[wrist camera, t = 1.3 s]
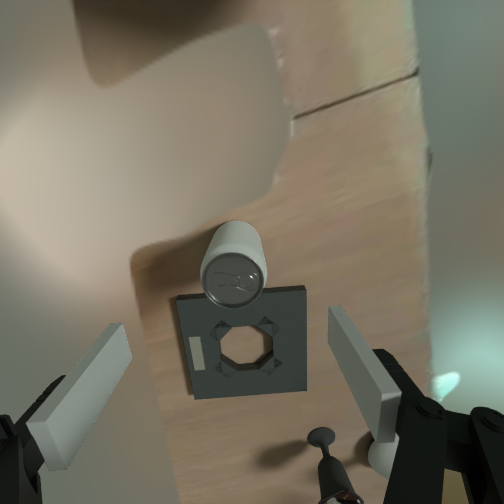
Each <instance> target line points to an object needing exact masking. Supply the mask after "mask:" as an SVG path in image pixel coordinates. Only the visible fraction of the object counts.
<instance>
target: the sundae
mask: <svg viewBox="0 0 504 504" xmlns="http://www.w3.org/2000/svg"><path fill="white" fill-rule="evenodd" d="M334 440H335V433H334V432H333V431H332V430H331V429H329V428H317V429H315V430H313V431H312V432H311V433H310V434H309V436H308V441H309V443H310V444H311V445H312V446H314V447H320V448H321V450H322V453H323V459H322V460H321V461H320V463H319V465H318V476H319V484H320V491H321V500H320V501H319V502H318V504H364V501H363V500H362V498H361V497H360V496H358V495H357V494H356V493H355V491H354V489H353V487H352V485H351V483H350V480H349V478H348V476H347V474H346V471H345V469H344V468H343V466H342V464H341V462H340V461H339V460H337V459H336V458H335V457H332V456H330V453H329V450H328V445H330V444H331V443H333V441H334Z"/></svg>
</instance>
